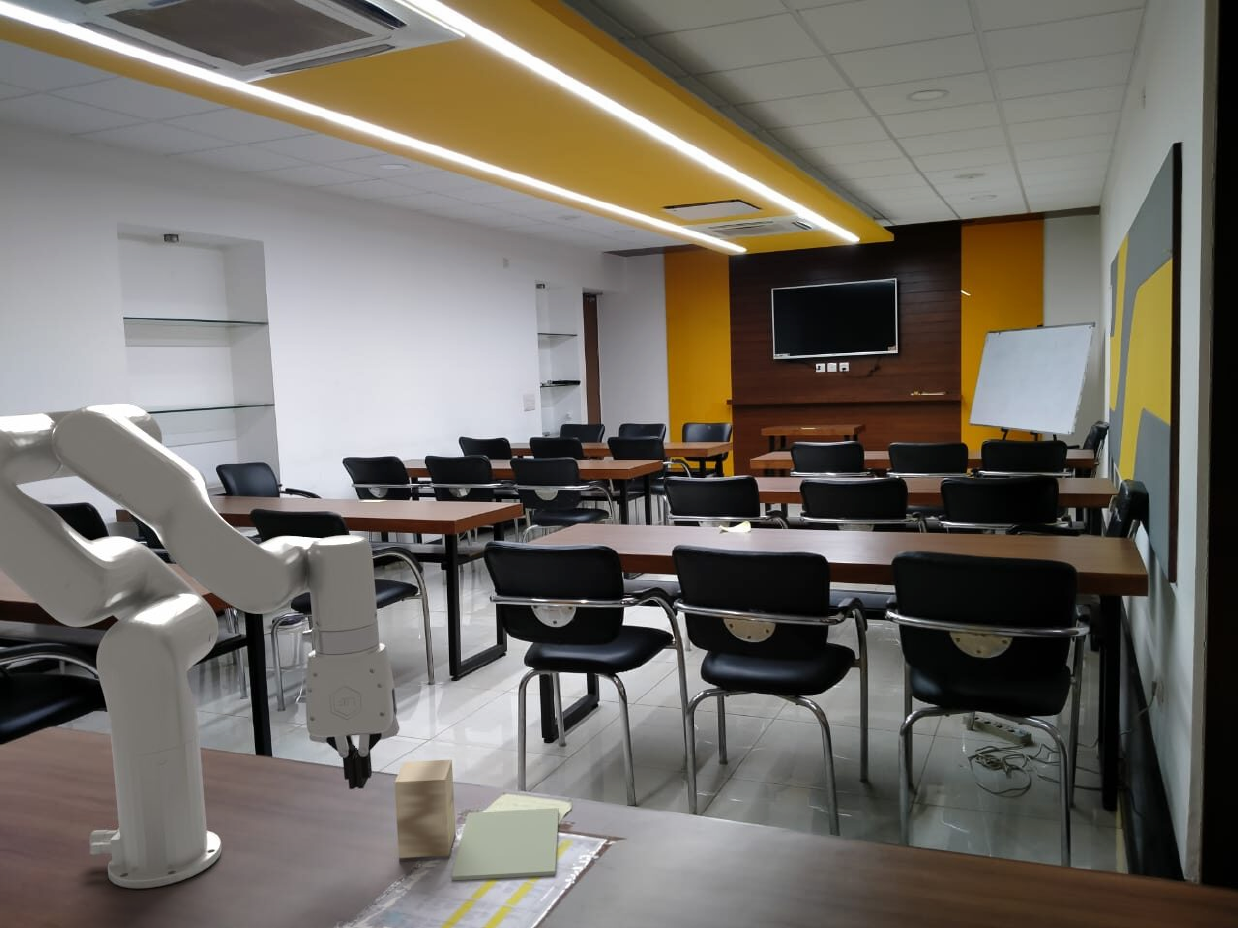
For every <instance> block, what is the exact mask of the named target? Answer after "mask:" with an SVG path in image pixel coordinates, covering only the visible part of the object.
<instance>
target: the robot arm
mask: <svg viewBox="0 0 1238 928" xmlns="http://www.w3.org/2000/svg"><path fill="white" fill-rule="evenodd" d="M71 477H77V478H79V479H80V480H82V481H84V482H86V483H87V484H89V486H91V487H92V488H94V489H95V490H97V491H98V492H100V493H101V494H102V495H104V496H105V497H106V498H108V499H110V500H111V501H112V502H114V503H116V504H117V505H118V506H119V507H121V508H123V509H124V510H125V511H127V512H128V513H129V514H131V515H133V517H135V518H137V519H138V520H139V521H140V522H143V523H144V524H145V525H146V526H148V527H149V528H150V529H151V530H152V531H153V532H154V533H155V535H156V536H157V538H158V540H159V541H160V544H161V545H162V546H163V548H164V549H165V550H166V552H167V553H168V554H169V556H170V557H171V558H172V560H173V561H174V562H175V563H176V564H177V567H179V568H180V569H181V570H182V571H183V572H184V573H185V574H186V575H187V576H189V577H190V578H191V579H192V580H194V581H195V582H196V583H197V584H199V585H201V586H202V587H203V588H204V589H206V590H207V591H209V592H210V593H212V594H213V595H214V596H216V597H218V598H219V599H221V600H222V601H223V602H225V603H227V604H228V605H230V606H232V607H234V608H236V609H237V610H240V611H243V612H246V613H248V614H249V613H250V614H255V615H256V614H259V615H260V614H261V615H263V614H268V613H271V612H275V611H276V610H278V609H280V608H281V607H283V606H284V605H286V604H287V603H289V602H290V600H292V599H294V598H297V597H299V596H300V595H303V594H306V593H310V594H309V596H310V605H311V608H310V609H311V616H312V617H311V619H312V628H311V629H309V630H308V631H303V632H302V634H301V641H302V643H308V644H311V645H312V648H313V650H312V651H311V652H310V653H308V656H307V661H306V663H307V665H306V674H305V675H306V676H305V720H306V721H305V722H306V729H307V732H308V733H309V737H308V738H309V740H310V741H311V742H316V743H322V744H327V745H329V746H330V747H331V748H332V749H334V751H337V752H338V756H339V758H342V763H343V765H342V766H343V774H344V775H343V777H344V780H346V781H347V780H348V789H349V790H355V789H356V788H357V789H364V787H365V786H366V783H367V781H368V780H369V779H371V777H372V774H373V769H372V756H371V755H372V754H371V751H372V749H373V748H374V747H375V746H376V745H377V744H378V742H380V741H381V740H385V739H389V738H392V737H395V736H397V735H398V733H399V731H400V730H401V728H400V725H399V721H398V718H397V712H398V706H397V696H396V689H395V687H396V686H395V681H394V677H393V671H392V666H391V662H390V659H389V655H388V651H387V648H386V645H385V644H384V643H382V642H380V633H379V632H380V631H379V621H378V608H377V595H376V583H375V572H374V571H375V570H374V569H375V567H374V560H373V559H374V558H373V549H372V545H371V542H370V541H369V539H367V538H366V537H364V536H362V535H355V534H353V535H351V534H350V535H349V534H347V535H334V536H328V537H327V536H326V537H323V538H317V537H305V536H304V537H303V536H296V535H295V536H293V535H292V536H291V535H282V536H281V535H280V536H276V537H272V538H270V539H268V540H266V541H263V542H261V543H259V544H257V543H256V542H254V540H251V539H250V538H248V537H247V536H245V535H244V534H243V533H241V532H240V531H238V530H237V529H236V528H235V527H233V526H232V525H231V524H229V523H228V522H227V521H226V520H225V519H224V518H223V517H222V516H221V515H220V514H219V513H218V512H217V510H216V509H215V507H214V506H213V504H212V503H211V501H210V498H209V494H208V484H207V480H206V476H205V475H204V474H203V473H202V471H201V470H200V469H198V468H196V467H195V466H194V465H192V464H191V463H189V462H188V461H187V460H185V459H183V458H182V457H181V456H179V455H177V454H176V453H175V452H173V451H172V450H170V449H169V448H168V447H166V446H165V445H163V436H162V430H161V428H160V425H159V424H158V423H157V421H156V419H154V417H153V416H152V415H151V414H150V413H148V411H147V410H144V409H142V408H140V407H138V406H136V405H132V404H127V403H112V404H111V403H110V404H108V403H107V404H94V405H86V406H83V407H82V406H81V407H80V408H77V409H73V410H64V411H63V410H61V411H49V412H38V413H37V412H36V413H35V412H34V413H22V414H20V413H19V414H8V415H7V414H6V415H0V571H1V572H2V573H3V574H4V575H5V576H6V577H8V579H10V580H11V582H13V583H14V584H15V585H17V587H18V588H20V589H21V590H22V592H24V593H25V594H26V595H27V596H29V597H30V598H31V600H33V601H34V602H35V603H36V604H38V606H39V607H41V609H43V610H44V611H45V612H46V613H48V615H50V616H51V617H52V618H54V620H56V621H58V622H59V623H61V624H63V625H65V626H68V627H73V628H81V627H88V626H91V625H94V624H96V623H99V622H102V621H104V620H105V619H107V618H109V617H112V616H114V617H115V618H116V619H117V621H116V622H115V623H114V624H113V625H112V626H111V627H110V628H108V630H107V632H106V633H105V634H104V635H103V637H102V639H101V640H100V643H99V645H98V648H97V652H96V660H95V661H96V671H97V676H98V680H99V684H100V686H101V689H102V693H103V696H104V701H105V705H106V709H107V715H108V723H109V731H110V743H111V750H112V751H111V753H112V764H113V773H114V783H115V797H116V808H117V810H116V811H117V819H118V820H117V821H118V828H117V830H110V829H98V830H97V829H96V830H93V831H91V833H90V834H89V835H90V836H89V840H88V841H89V854H91V856H92V855H94V856H95V855H103V854H109V855H110V856H112V858H111V859H110V861H109V862H108V866H107V872H108V873H107V875H108V878H109V880H110V882H112V883H113V884H114V885H117V886H119V887H122V888H128V889H152V888H156V887H162V886H163V887H164V886H167V885H171V884H175V883H178V882H181V881H184V880H186V879H189V878H191V877H193V876H195V875H197V874H200V873H202V872H203V871H204V870H206V869H208V868H209V867H210V866H212V865H213V864H214V863H215V862H216V861H217V860H218V859H219V858H220V856H221V853H222V848H223V847H222V840H221V838H220V836H219V835H217V834H216V833H214V832H213V831H209V830H208V829H207V817H206V807H205V806H206V805H205V803H206V802H205V793H204V780H203V779H204V778H203V765H202V755H201V754H202V753H201V740H200V730H199V718H198V712H197V704H196V700H195V698H194V695H193V692H192V690H191V687H190V683H189V680H188V673H187V672H188V671H189V670H190V669H191V668H192V667H194V665H196V664H197V663H198V662H200V661H201V660H202V659H204V658H205V657H206V656H207V655H208V654H210V652H211V651H212V649H213V648H214V646H215V644H216V642H217V640H218V636H219V621H218V618H217V615H216V613H215V612H214V609H213V608H212V606H211V605H210V603H208V601H206V599H205V598H204V597H203V596H202V594H200V593H199V592H198V591H197V590H196V589H195V588H194V587H192V585H191V584H189V583H188V582H187V581H186V580H185V579H184V578H183V577H181V575H180V574H178V573H177V572H176V571H175V570H174V569H173V568H172V567H171V566H170V565H169V564H168V563H166V562H165V561H164V560H163V559H162V558H161V557H160V556H158V554H157V553H155V552H154V551H152V549H150V548H149V547H147V546H146V545H144V544H143V543H141V542H138V541H136V540H135V539H133V538H128V537H125V536H120V535H119V536H118V535H117V536H116V535H113V536H112V535H111V536H104V537H100V538H96V539H93V540H89V539H88V538H86V537H85V536H83V535H82V534H81V533H79V532H78V531H77V530H75V528H73V527H72V526H71V525H69V524H68V523H67V521H65V520H64V519H63V518H62V517H61V516H60V515H59V514H58V513H57V512H56V511H55V510H53V509H52V508H51V507H49V506H48V505H46V504H44V503H42V502H41V501H39V500H37V499H35V498H33V497H31V496H29V495H28V494H26V493H25V492H23V491H22V490H21V489H20V488H19V487H18V486H19V485H26V484H30V483H36V482H40V481H47V480H53V479H54V480H55V479H62V478H71ZM353 736H359V737H358V748H357V747H356V745H355V744H354V743H355V742H354V738H353Z"/></svg>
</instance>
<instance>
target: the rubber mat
mask: <svg viewBox="0 0 1238 928" xmlns="http://www.w3.org/2000/svg"><path fill="white" fill-rule="evenodd" d="M559 810H560V808H558V807H557V808H555V807H554V808H541V809H540V808H537V809H535V808H534V809H516V810H498V811H497V810H496V811H477V812H467V816H466V820H465V822H464V823H465V824H464V826H463V830H462V831H463V832H462V834H461V839H460V843H459V845H458V850H457V854H456V858H455V861H454V865H453V869H452V873H451V881H466V880H487V879H488V880H489V879H490V880H491V879H503V878H504V879H507V878H523V877H524V878H526V877H541V876H542V877H543V876H544V877H547V876H556V869H557V854H558V853H557V850H558V849H557V848H558V834H559V833H558V831H559V814H560V811H559Z"/></svg>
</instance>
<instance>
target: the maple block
mask: <svg viewBox="0 0 1238 928" xmlns="http://www.w3.org/2000/svg"><path fill="white" fill-rule="evenodd" d="M394 795H395V796H394V797H395V810H396V831H397V832H396V833H397V847H398V861H399V863H403V862H407V863H408V862H420V861H421V862H422V861H423V862H425V861H442V860H450V857H451V854H452V849H453V848H454V843H455V839H456V833H457V832H456V815H455V814H456V813H455V799H454V798H455V797H454V778H453V760H452V759H436V760H434V759H433V760H417V761H404V762H403V763H402V766H401V768H400V770H399V772H398V774H397V776H396V778H395V781H394Z"/></svg>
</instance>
